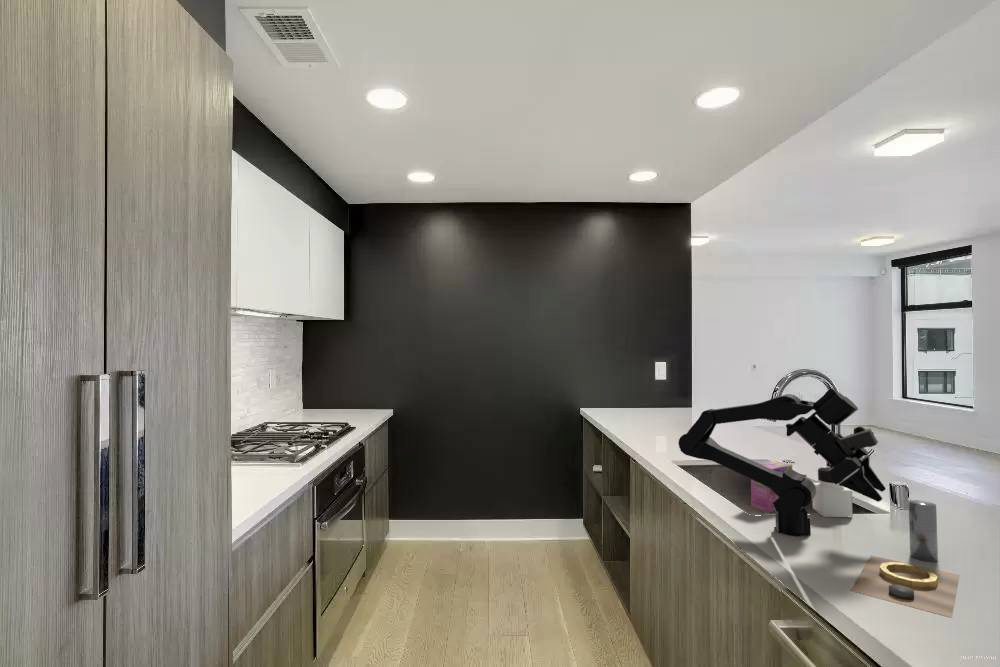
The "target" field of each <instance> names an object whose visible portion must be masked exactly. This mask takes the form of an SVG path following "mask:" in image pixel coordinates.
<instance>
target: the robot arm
mask: <svg viewBox="0 0 1000 667" xmlns="http://www.w3.org/2000/svg"><path fill="white" fill-rule="evenodd" d="M858 410H859V408H858V406H857V405H856V404H855V403H854V402H853V401H852V400H851V399H850V398H849V397H847V396H844V395H843V394H842V393H841V392H839V391H837V390H836V389H835V388H834V387H831V388H829V389H828V390H827V391H826V392H825V394H824V395H822V396H821V397H820V398H819V399H818V400H816V401H811V400H810V401H808V400H802V399H800V397H798V396H797V395H795V394H791V393H789V394H783V395H779V396H777V397H773V398H770V399H767V400H765V401H762V402H757V403H750V404H743V405H736V406H730V407H722V408H716V409H715V408H710V409H707V410H704V411H702V412H701V413H700V416H699V417H698V418H697V420H696V421H695V422H694V423H693V425H692V426H690V428H689V429H688V431H687V433H685V434H682V435H681V436H680V437H679V439H678V442H677V443H678V447H679V450H680V452H681V453H682V454H684V455H685V456H688V457H692V458H695V459H698V460H699V459H700V460H705V461H706V460H707V461H711V462H713V463H716V464H717V465H720V466H722V467H724V468H727V469H728V470H731V471H732V472H735V473H737V474H739V475H741V476H744V477H745V478H748V479H750V480H751V479H752V480H754V481H756V482H758V483H760V484H762V485H764V486H767V487H768V488H770V489H771V490H772V491H773V492H774V493H775V494H776V495H777V496H778V498H777V499H776V500H775V501H774V502H773V504H774V507H775V511H774V512H775V526H774V527H773V530H774V531H775V533H776V534H777V533H778V534H781V535H786V536H791V537H803V536H806V537H807V536H811V535H812V534H811V531H812V530H811V529H812V528H811V527H812V526H811V517H809V515H808V510H807V509H806V507H807V506H809V504H810V503H811V502H813V498H814V497H815V495H816V488H815V486H814V484H813V483H814V482H813V481H812V480H811V479H809V478H807V476H808V475H807V474H802V473H799V472H797V471H796V470H794V469H793V468H792V469H790V468H788V469H787V470H786V471H785V472H778V471H775V470H772V469H770V468H768V467H766V466H764V465H761V463H758V461H754V460H752V459H750V458H749V457H746V456H744V455H742V454H739V453H737V452H734V451H732V450H730V449H728V448H726V447H724V446H721V445H720V444H718V443H717V442H716V441H715V439H713V438H712V437H711V436H712V433H713V431H714V430H715V428H716V426H717V425H720V424H728V423H736V422H737V423H738V422H744V421H752V420H768V421H792V420H794V419H795V418H797V417H799V416H800V417H799V418H798V419H797V420H796V421H795V422H793V423H787V424H786V425H785V427H786V435H785V436H787V437H790V436H792V435H793V434H794V433H796V434H798V435H799V437H801V438H802V439H803V440H804V441H805V442H806V443H807V444H808V445H809V446H810V447H811V448H812V449H813V450H814V451H813V453H814V454H816V455H817V456H818V455H819V456H821V457H822V458H823V459H824V460H825V461H826V463H828V464H829V465H828V467H830V468H831V469H830V470H829V471H828V476H829V479H831V480H832V481H833V482H834V483H835V484H838V483H839V482H840V481H841V482H840V483H839V485H840V486H843V487H846V488H848V489H850V490H851V491H852V492H855V493H857V494H860V495H862V496H865V497H867V498H869V499H872V500H873V501H876V502H879V503H880V502H881V501H882V500H883V497H882V496H881V494H880V493H879V492H884V491H886V486H885V485H884V483H883V482H882V481H881V480H880V478H879V476H877V474H876V473H875V471H874V470H873V468H872V467H871V464H870V462H871V461H870V459H871V458H870V457H871V456H870V455H869V454H868V453H869V451H868V450H867V449H866V448H872V447H874V446H877V445H878V443H879V441H878V440H877V438H876V436H875V433H874V432H873V430H872V429H871V428H867V429H866V428H865V427H863V426H862V425H859V426H857V427H854V428H853V433H850V434H849V435H846V436H843V435H842V434H841V433H838V432H836V433H835V432H834V431H833V430H832V429H831V428H830V427H829V426H832V425H834V426H837V427H838V426H839V425H841V424H842V423H843V422H844V421H846V420H847V419H849V417H851V416H852V415H853V414H854V413H855V412H857V411H858ZM811 411H814V412H812V414H810V416H808V417H807V418H806V417H804V416H802V415H807V414H809V413H810V412H811ZM816 415H817V416H816ZM826 424H827V425H826ZM864 456H865V457H864ZM842 480H843V481H842ZM877 490H878V491H879V492H878V491H877Z"/></svg>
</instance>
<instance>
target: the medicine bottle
mask: <svg viewBox="0 0 1000 667" xmlns="http://www.w3.org/2000/svg"><path fill="white" fill-rule="evenodd" d="M830 469H831V468H830V467H829V466H821V467H819V468H818V469H817V481H818V482H813V484H814V486H815V488H816V495H815V497H814V498H813V500H812V509H813V510H814V511H816V512H817V513H819V515H821V516H822V517H825V518H841V517H848V516H849V517H850V516H851V517H853V516H854V513H853V511H854V510H853V490H851V489H848V488H846V487H843V486H840V485H839V483H840V482H841V481H840V482H839V483H838V484H835V483H834V482H833V481H832V480H831V479H829V476H828V471H829V470H830ZM842 481H843V480H842ZM853 518H854V517H853Z"/></svg>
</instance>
